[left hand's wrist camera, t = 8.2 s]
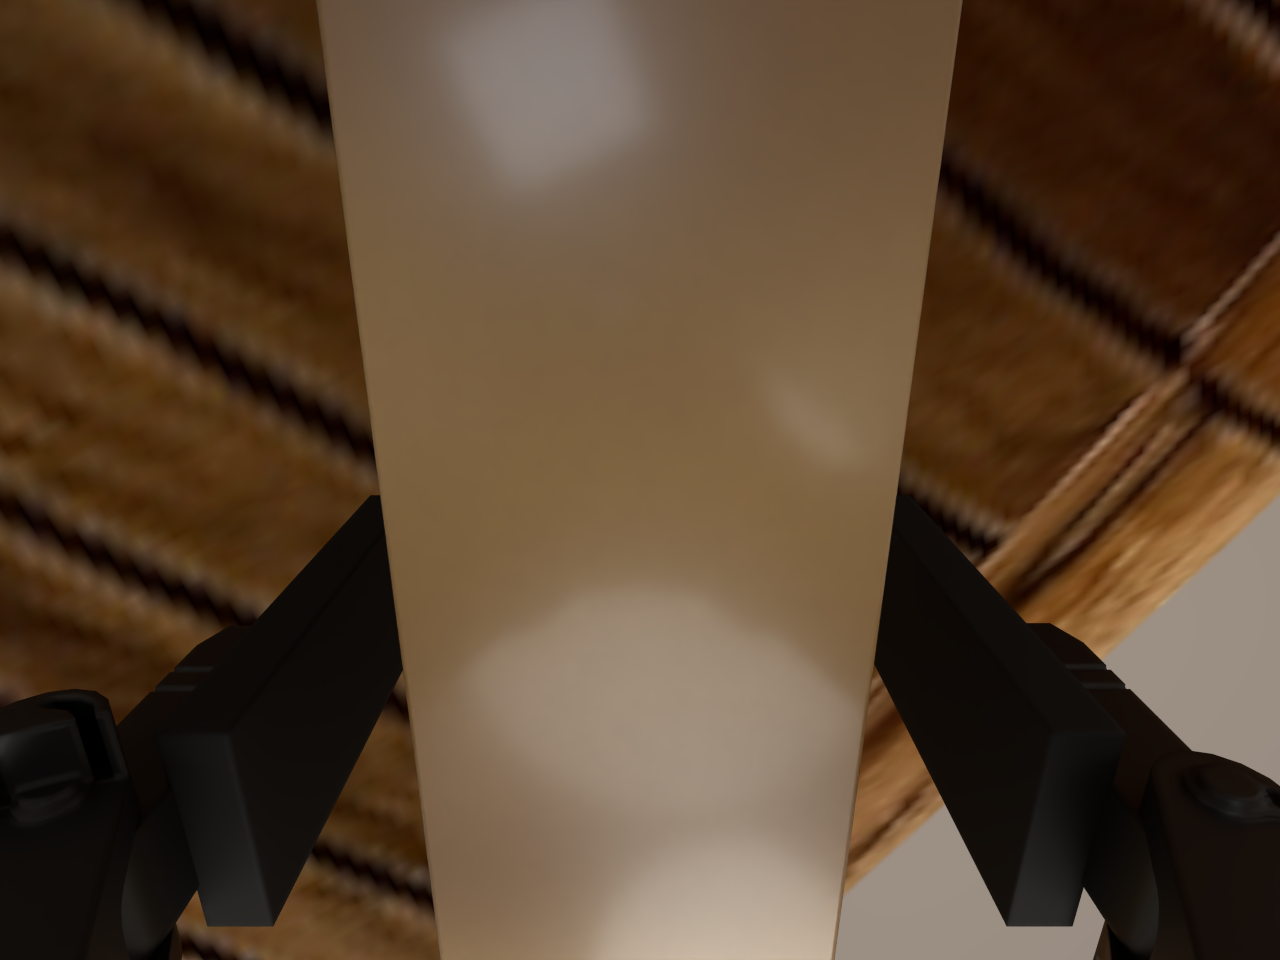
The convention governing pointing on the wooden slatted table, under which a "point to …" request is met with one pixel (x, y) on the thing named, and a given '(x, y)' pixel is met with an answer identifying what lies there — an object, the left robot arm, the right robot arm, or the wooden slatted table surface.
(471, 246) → the bar
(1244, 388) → the wooden slatted table surface
